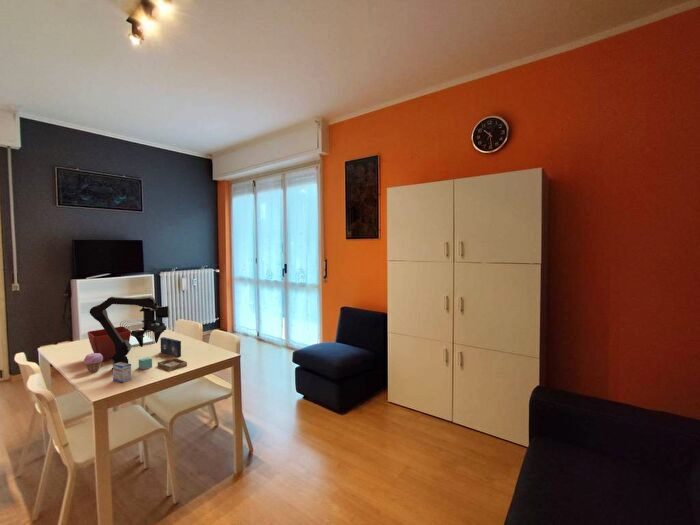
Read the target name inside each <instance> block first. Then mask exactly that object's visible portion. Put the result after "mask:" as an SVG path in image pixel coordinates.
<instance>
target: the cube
mask: <svg viewBox="0 0 700 525" xmlns="http://www.w3.org/2000/svg"><path fill="white" fill-rule="evenodd" d="M150 368H153V359H152V358H151V357H149V356H148V357H142V358H139V359H138V369H139V370H140V369H141V370H146V369H147V370H148V369H150Z"/></svg>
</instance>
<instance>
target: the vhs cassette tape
mask: <svg viewBox="0 0 700 525" xmlns="http://www.w3.org/2000/svg"><path fill="white" fill-rule="evenodd" d="M159 338H160V339H159V340H160V353H161V354H164V355H168V356H171V357H172V356H173V357H174V358H179V357H182V341H181V340H178V339H173V338H170V337H164V336H163V337H159Z"/></svg>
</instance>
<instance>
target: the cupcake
mask: <svg viewBox="0 0 700 525" xmlns="http://www.w3.org/2000/svg"><path fill="white" fill-rule="evenodd" d="M102 361H103V356H102V355H101V354H100V353H94V352H92V353H88V354H87V355H86V356H85V358H84V359H83V363H84V365H86V368H87V371H88V373H95V372H98V371H99V370H100V369H101V363H102ZM103 362H104V361H103Z"/></svg>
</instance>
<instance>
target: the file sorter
mask: <svg viewBox="0 0 700 525" xmlns="http://www.w3.org/2000/svg"><path fill="white" fill-rule="evenodd" d="M142 320H143V318H141V317H138V318H134V319H133V318H131V319H125V320H122V321H121V322H120V324H119V327H122V326H123V327H125V328H126V329H128V330H129V328H130V327H134V326H141V325H143V326H144V324H143V322H142ZM143 336H144V337H143V346H146V345H145V344H147V345H151V343H152V344H156V343H155V339H154V338H152V336H154V332H153V331H151V332H147V333H144V335H143ZM129 343H130V344H131V348H134V346H136V347H140V346H139V345H140V344H139V342H138V341H137V339H136V338H135V337H133V336H130V340H129Z"/></svg>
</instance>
